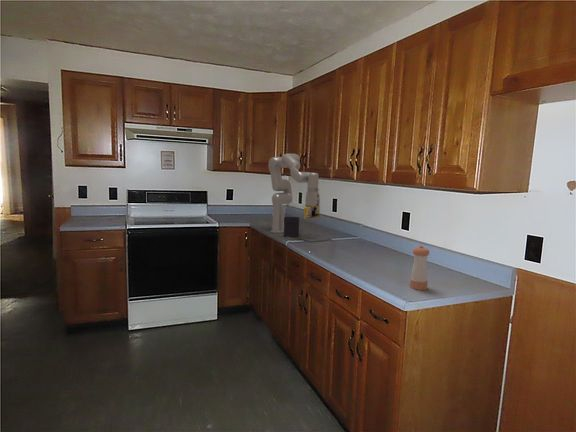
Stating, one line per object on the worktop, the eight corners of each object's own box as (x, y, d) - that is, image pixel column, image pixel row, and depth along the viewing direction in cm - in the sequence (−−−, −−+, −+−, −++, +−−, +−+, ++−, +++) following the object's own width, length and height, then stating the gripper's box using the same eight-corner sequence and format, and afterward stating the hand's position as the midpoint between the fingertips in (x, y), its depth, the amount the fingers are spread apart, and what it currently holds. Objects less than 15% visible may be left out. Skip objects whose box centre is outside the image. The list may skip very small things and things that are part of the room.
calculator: (298, 236, 279) (299, 217, 277) (297, 237, 275) (298, 217, 273) (285, 235, 282) (285, 216, 280) (283, 236, 278) (283, 216, 275)
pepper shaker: (420, 291, 160) (423, 248, 158) (406, 286, 166) (409, 245, 164) (430, 288, 165) (433, 246, 162) (416, 283, 170) (419, 243, 168)
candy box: (305, 219, 257) (305, 207, 256) (303, 218, 258) (303, 207, 257) (320, 217, 269) (320, 205, 268) (317, 216, 270) (317, 205, 269)
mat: (300, 239, 267) (300, 238, 267) (321, 237, 278) (321, 236, 278) (311, 242, 258) (311, 241, 257) (331, 239, 268) (331, 238, 268)
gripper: (324, 190, 258) (323, 216, 261) (307, 189, 269) (306, 214, 272) (318, 191, 253) (317, 217, 255) (300, 189, 264) (300, 215, 266)
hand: (311, 215), depth 263 cm, fingers closed on candy box, 2 cm apart
